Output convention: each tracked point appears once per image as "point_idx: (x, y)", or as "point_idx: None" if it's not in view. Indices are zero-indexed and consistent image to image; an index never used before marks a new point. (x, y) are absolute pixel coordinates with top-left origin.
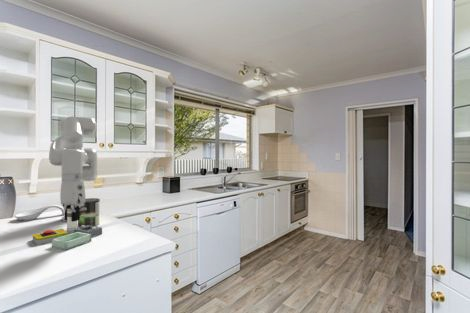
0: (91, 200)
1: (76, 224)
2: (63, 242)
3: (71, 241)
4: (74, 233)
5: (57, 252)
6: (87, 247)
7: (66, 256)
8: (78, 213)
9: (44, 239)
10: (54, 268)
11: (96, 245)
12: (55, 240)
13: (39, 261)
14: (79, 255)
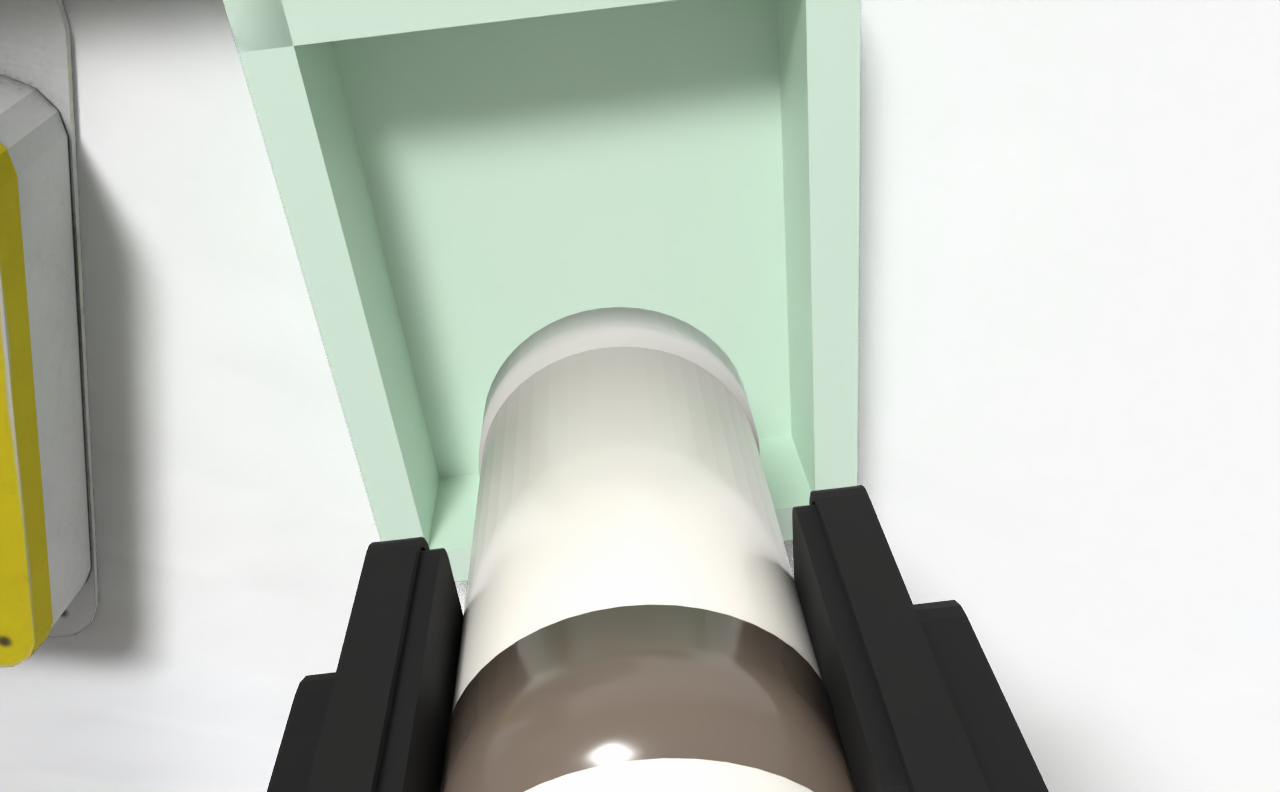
0: None
1: (751, 446)
2: None
3: (856, 433)
4: (317, 129)
5: (789, 547)
6: (1089, 181)
7: (1085, 545)
8: (1037, 782)
9: (47, 549)
10: (1269, 740)
11: (1189, 10)
12: None
13: None
14: (1258, 438)
